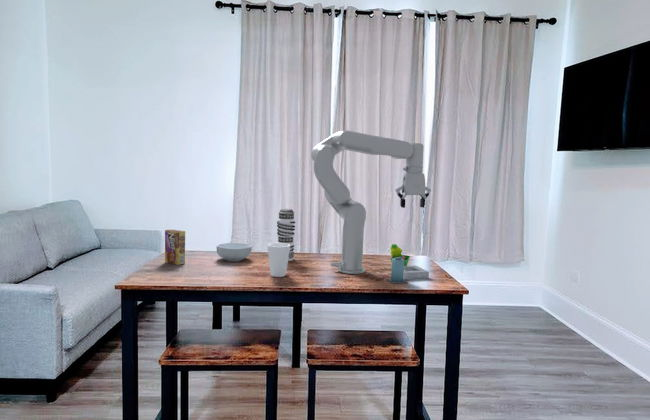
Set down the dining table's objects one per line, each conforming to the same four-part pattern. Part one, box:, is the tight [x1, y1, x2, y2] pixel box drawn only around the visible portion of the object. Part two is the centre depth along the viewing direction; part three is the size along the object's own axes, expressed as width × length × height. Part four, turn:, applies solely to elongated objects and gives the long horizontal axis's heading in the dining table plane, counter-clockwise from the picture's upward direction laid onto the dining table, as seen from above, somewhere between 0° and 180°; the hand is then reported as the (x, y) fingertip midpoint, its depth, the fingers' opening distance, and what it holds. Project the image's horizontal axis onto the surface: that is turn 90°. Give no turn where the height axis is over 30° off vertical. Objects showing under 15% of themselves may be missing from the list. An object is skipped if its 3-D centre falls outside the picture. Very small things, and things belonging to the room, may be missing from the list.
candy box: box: [164, 228, 186, 266], centre depth 200 cm, size 9×4×15 cm, turn 63°
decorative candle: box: [276, 208, 296, 262], centre depth 216 cm, size 9×9×25 cm
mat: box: [385, 277, 409, 285], centre depth 183 cm, size 7×7×1 cm
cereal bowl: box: [216, 242, 252, 262], centre depth 212 cm, size 17×17×7 cm
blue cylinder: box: [390, 257, 404, 282], centre depth 182 cm, size 5×5×10 cm
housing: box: [403, 265, 430, 281], centre depth 193 cm, size 12×12×3 cm
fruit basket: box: [390, 243, 411, 266], centre depth 207 cm, size 11×9×11 cm
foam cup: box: [267, 242, 290, 278], centre depth 186 cm, size 10×9×13 cm
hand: (412, 207), depth 202 cm, fingers open, 9 cm apart
